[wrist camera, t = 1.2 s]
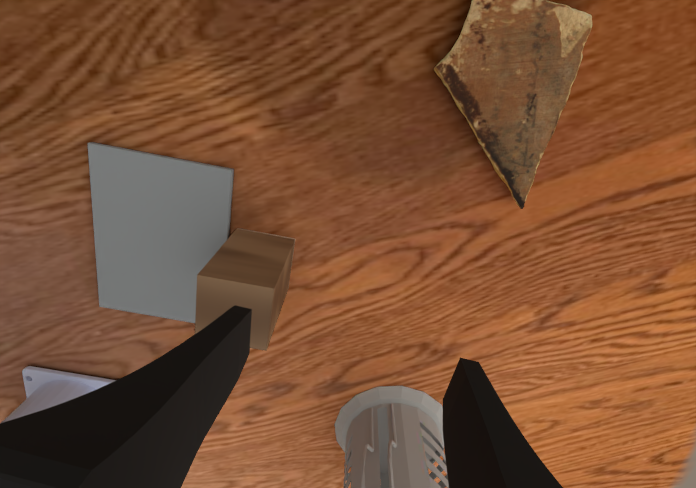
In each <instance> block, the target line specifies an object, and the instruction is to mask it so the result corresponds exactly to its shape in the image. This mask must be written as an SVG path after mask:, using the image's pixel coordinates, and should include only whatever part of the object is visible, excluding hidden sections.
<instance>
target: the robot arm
mask: <svg viewBox="0 0 696 488" xmlns="http://www.w3.org/2000/svg"><path fill="white" fill-rule="evenodd" d="M251 317H252V309H249V308H245V307H240V306H236V305H235V306H233V307H231V308H230V309H229V310H227V311H226V312H225V313H223V314H222V315H221V316H219V317H218V318H217V319H215V320H214V321H213V322H211V323H210V324H209V325H207V326H206V327H205V328H203V329H202V330H200V331H199V332H198V333H196V334H195V335H193V336H192V337H190V338H189V339H188V340H186V341H185V342H183V343H182V344H180V345H179V346H177V347H175V348H174V349H172V350H171V351H169V352H168V353H166V354H164V355H163V356H161V357H160V358H158V359H156V360H154V361H153V362H151V363H149V364H147V365H146V366H144V367H142V368H140V369H138V370H136V371H135V372H133V373H131V374H129V375H127V376H125V377H123V378H121V379H118V380H111V379H105V378H99V377H93V376H87V375H81V374H75V373H69V372H63V371H57V370H51V369H45V368H39V367H33V366H27V367H26V368H24V369H23V371H22V374H23V380H24V386H25V392H26V397H27V399H26V400H25V401H24V402H23V403H22V404H21V405H20V406H18V407H17V408H16V409H15V410H14V411H13V412H12V413H11V414H10V415H9V416H8V417H7V418H6V419H5V420H4V421H2V422H1V423H0V488H181V486H182V484H183V481H184V479H185V477H186V475H187V473H188V471H189V468H190V466H191V464H192V462H193V460H194V458H195V455H196V453H197V451H198V449H199V447H200V445H201V444H202V442H203V440H204V438H205V436H206V434H207V433H208V431H209V429H210V428H211V426H212V424H213V422H214V421H215V419H216V417H217V415H218V414H219V412H220V410H221V409H222V407H223V405H224V403H225V402H226V400H227V398H228V396H229V395H230V393H231V391H232V389H233V388H234V386H235V384H236V382H237V381H238V379H239V376H240V374H241V372H242V369H243V367H244V365H245V362H246V360H247V358H248V355H249V350H250V334H251ZM443 439H444V448H445V458H446V467H447V475H448V484H449V488H563V487H562V486H561V485H560V484H559V483H558V481H557V480H556V479H555V478H554V476H553V475H552V474H551V473H550V471H549V470H548V469H547V468H546V466H545V465H544V464H543V462H542V461H541V460H540V459H539V457H538V456H537V455H536V453H535V452H534V450H533V449H532V448H531V446H530V445H529V443H528V442H527V440H526V439H525V438H524V436H523V435H522V433H521V432H520V430H519V429H518V427H517V426H516V424H515V423H514V421H513V419H512V418H511V416H510V415H509V413H508V411H507V410H506V408H505V407H504V405H503V403H502V402H501V400H500V398H499V397H498V395H497V393H496V391H495V390H494V388H493V386H492V384H491V383H490V381H489V379H488V377H487V376H486V374H485V372H484V370H483V369H482V367H481V365H480V364H479V362H476V361H472V360H467V359H463V358H460V360H459V362H458V365H457V367H456V369H455V372H454V374H453V377H452V379H451V381H450V384H449V386H448V389H447V391H446V393H445V396H444V398H443Z"/></svg>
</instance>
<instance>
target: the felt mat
mask: <svg viewBox="0 0 696 488" xmlns="http://www.w3.org/2000/svg"><path fill="white" fill-rule="evenodd" d="M88 156H89V169H90V183H91V197H92V211H93V225H94V239H95V252H96V266H97V280H98V294H99V307H105V308H111V309H116V310H122V311H128V312H134V313H139V314H145V315H151V316H157V317H163V318H168V319H174V320H180V321H186V322H191V323H195V315H196V290H197V274H198V273H199V272H200V271H201V270H202V269H203V267H204V266H205V265H206V264H207V263H208V262H209V260H210V259H211V258H212V257H213V256H214V255H215V253H216V252H217V251H218V250H219V249H220V248H221V246H222V245H223V244H224V243H225V242H226V241H227V239H228V238H229V230H230V216H231V202H232V188H233V174H234V169H231V168H226V167H220V166H215V165H210V164H205V163H199V162H194V161H189V160H183V159H178V158H173V157H168V156H162V155H157V154H152V153H147V152H141V151H136V150H131V149H126V148H120V147H115V146H110V145H104V144H99V143H94V142H90V143H88Z"/></svg>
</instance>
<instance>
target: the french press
mask: <svg viewBox="0 0 696 488" xmlns="http://www.w3.org/2000/svg"><path fill="white" fill-rule="evenodd" d="M335 432H336V440H337V442H338V443H339V445H340V446H341V448H342V449H343V451H344V452H345V471H344V473H345V477H344V488H348V486H349V484H350V482H351V488H445V487H447V488H449V484H448V475H446V476H445V477H444V476H443V474H442V473H441V472H442V471H443V470H444V471H445V472H446V474H447V467H446V458H445V454H444V452H443V450H444V439H443V407H442V405H441V404H440V403H439V402H437V401H436V400H434V399H433V398H432V397H430V396H429V395H428V394H426V393H425V392H422V391H419V390H415V389H412V388H408V387H404V386H383V387H376V388H373V389H370V390H368V391H365V392H362V393H360V394H357V395H355V396H354V397H353V398H352V399H351V400H350V401H349V402H348V403H346V404H345V405H344V406H343V407H342V408H341V410H340V412H339V415H338V417H337V420H336V422H335ZM441 455H442V457H443V458H444V460H443V461H442V460H441V459H440V458H439V457H440V456H441ZM435 461H436V462H437V463H438V464H439V465H438V466H437V467H435V466H434V465H433V463H434V462H435ZM346 465H347V468H346ZM350 467H351V472H350V473H348V470H349V468H350ZM428 468H429V469H430V470H431V471H432V472H431V473H430V474H429V473H428ZM436 477H438V478H439V479H440V480H441V481H440V482H439V483H438V484H437V483H436V482H435V481H434V479H435V478H436ZM380 479H381V482H380ZM345 481H347V482H346V484H345Z"/></svg>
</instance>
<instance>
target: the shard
mask: <svg viewBox="0 0 696 488" xmlns="http://www.w3.org/2000/svg"><path fill="white" fill-rule="evenodd" d="M591 28H592V16H591V14H587V13H586V12H583V11H578V10H576V9H572V8H571V7H569V6H567V5H564V4H558V3H554V2H549V1H545V0H472V1H471V6H470V10H469V13H468V15H467V18H466V20H465V23H464V26H463V29H462V31H461V34H460V36H459V38H458V40H457V41H456V43H455V45H454V47H453V48H452V50H451V51H450V52H449V53H448V54H447V55H446V56H445V57H444V59H442V60H441V61H440V62H439V63H438V65H436V66H435V68H434V71H435V72H436V74H437V75H438V76H439V77H440V78H441V80H442V82H443V84H444V85H445V86H446V87H447V88H448V90H449V92H450V93H451V95H452V97H453V99H454V101H455V103H456V105H457V107H458V108H459V109H460V111H461V113H462V114H463V115H464V116H465V117H466V119H467V121H468V123H469V125H470V127H471V129H472V130H473V132H474V134H475V136H476V138H477V140H478V143H479V144H480V145H481V146H482V148H483V150H484V152H485V154H486V155H487V157H488V158H489V160H490V161H491V163H492V166H493V167H494V170H495V171H496V173H497V174H498V176H499V177H500V179H501V180H502V181H503V182H505V184H506V185H507V187H508V189H509V190H510V191H511V194H512V197H513V198H514V200H515V202H516V203H517V205H518V206H519V207H520V208H521V209H523V207H524V203H525V201H526V198H527V195H528V193H529V191H530V188H531V186H532V184H533V181H534V177H535V174H536V169H537V167H538V165H539V162H540V160H541V158H542V155H543V153H544V151H545V148H546V147H547V144H548V142H549V141H550V139H551V137H552V135H553V133H554V131H555V128H556V125H557V122H558V120H559V117H560V114H561V112H562V110H563V109H564V107H565V105H566V102H567V100H568V97H569V94H570V89H571V86H572V84H573V82H574V80H575V79H576V75H577V72H578V69H579V66H580V63H581V60H582V57H583V56H582V51H583V47H584V45H585V42H586V41H587V38H588V36H589V34H590V31H591Z"/></svg>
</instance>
